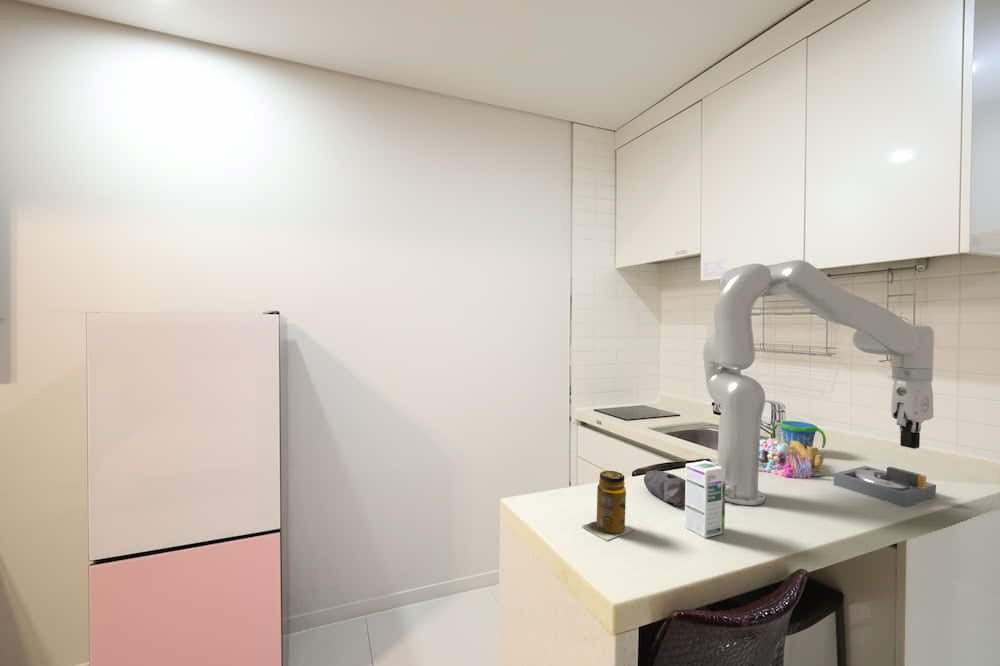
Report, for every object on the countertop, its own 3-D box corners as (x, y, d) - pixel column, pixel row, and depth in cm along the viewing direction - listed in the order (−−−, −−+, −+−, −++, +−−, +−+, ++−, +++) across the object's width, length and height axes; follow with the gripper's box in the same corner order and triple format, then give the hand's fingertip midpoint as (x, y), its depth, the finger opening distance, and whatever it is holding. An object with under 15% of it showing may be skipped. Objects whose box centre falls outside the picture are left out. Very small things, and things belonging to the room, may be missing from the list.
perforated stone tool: (637, 489, 120) (637, 464, 119) (652, 487, 122) (653, 462, 121) (678, 512, 106) (679, 484, 106) (695, 509, 108) (696, 481, 108)
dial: (845, 479, 125) (846, 461, 124) (869, 473, 130) (870, 456, 130) (911, 499, 111) (912, 479, 111) (935, 491, 117) (936, 473, 116)
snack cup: (766, 450, 158) (767, 421, 157) (778, 445, 164) (779, 417, 164) (818, 462, 146) (820, 431, 145) (829, 456, 152) (830, 426, 152)
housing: (904, 506, 111) (905, 493, 111) (833, 484, 126) (834, 472, 126) (935, 496, 118) (936, 484, 118) (864, 476, 132) (865, 465, 132)
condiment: (633, 530, 97) (635, 476, 96) (606, 541, 92) (608, 484, 91) (607, 517, 103) (608, 466, 102) (581, 527, 98) (582, 473, 97)
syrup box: (705, 539, 93) (707, 470, 93) (683, 526, 99) (685, 462, 98) (724, 534, 96) (727, 467, 95) (702, 522, 101) (704, 459, 100)
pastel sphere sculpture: (794, 456, 152) (795, 429, 152) (840, 481, 129) (841, 450, 128) (718, 453, 155) (718, 426, 154) (749, 477, 131) (750, 446, 131)
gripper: (915, 378, 105) (913, 455, 106) (946, 374, 112) (943, 447, 112) (877, 374, 112) (875, 447, 113) (908, 371, 118) (906, 439, 119)
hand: (909, 446), depth 113 cm, fingers closed
